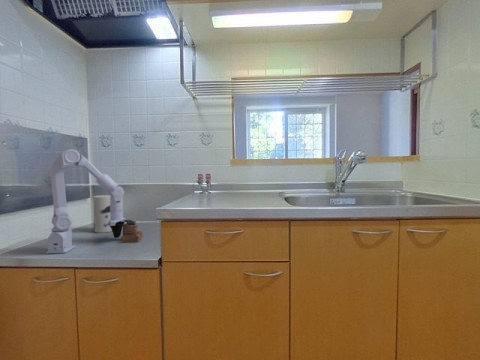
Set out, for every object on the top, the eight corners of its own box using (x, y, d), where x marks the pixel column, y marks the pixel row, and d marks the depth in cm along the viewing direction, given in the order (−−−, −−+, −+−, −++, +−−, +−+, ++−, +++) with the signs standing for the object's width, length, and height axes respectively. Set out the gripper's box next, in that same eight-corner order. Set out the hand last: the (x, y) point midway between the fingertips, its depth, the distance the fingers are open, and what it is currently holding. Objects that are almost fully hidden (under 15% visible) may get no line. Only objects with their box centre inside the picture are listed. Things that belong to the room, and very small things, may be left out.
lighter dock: (138, 242, 127) (138, 236, 127) (121, 242, 126) (121, 236, 125) (142, 236, 137) (142, 231, 137) (127, 237, 135) (127, 231, 135)
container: (105, 233, 144) (104, 197, 143) (89, 232, 146) (89, 196, 145) (117, 229, 153) (117, 195, 152) (102, 228, 155) (102, 194, 154)
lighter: (139, 239, 132) (139, 219, 132) (134, 241, 129) (135, 220, 128) (124, 238, 134) (125, 218, 133) (120, 239, 130) (121, 219, 130)
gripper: (121, 212, 123) (121, 240, 124) (128, 207, 137) (129, 233, 138) (105, 212, 122) (105, 241, 122) (114, 207, 136) (115, 233, 137)
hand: (117, 237), depth 130 cm, fingers closed
